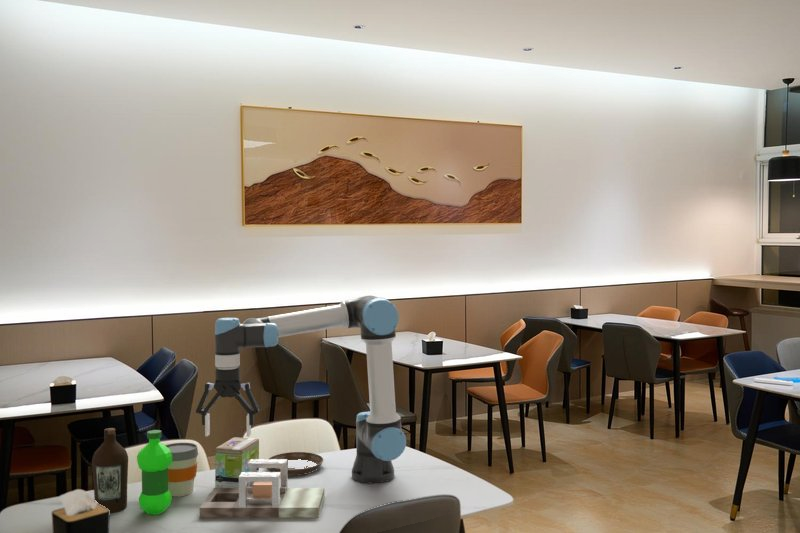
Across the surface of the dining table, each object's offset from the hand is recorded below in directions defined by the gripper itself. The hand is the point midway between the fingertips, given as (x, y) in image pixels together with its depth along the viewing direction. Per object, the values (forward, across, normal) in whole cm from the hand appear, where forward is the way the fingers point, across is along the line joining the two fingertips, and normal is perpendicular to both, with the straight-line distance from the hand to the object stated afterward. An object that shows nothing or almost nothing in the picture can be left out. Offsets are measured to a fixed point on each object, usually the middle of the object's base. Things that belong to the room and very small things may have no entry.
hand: (228, 435), depth 238 cm
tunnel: (+20, -11, 0) cm, 23 cm away
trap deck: (+23, -11, 0) cm, 25 cm away
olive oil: (+23, +37, +2) cm, 43 cm away
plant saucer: (+23, -15, -40) cm, 48 cm away
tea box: (+23, +2, -21) cm, 31 cm away
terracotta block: (+20, -11, 0) cm, 23 cm away
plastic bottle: (+23, +22, +5) cm, 32 cm away
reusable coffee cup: (+23, +20, -13) cm, 33 cm away
